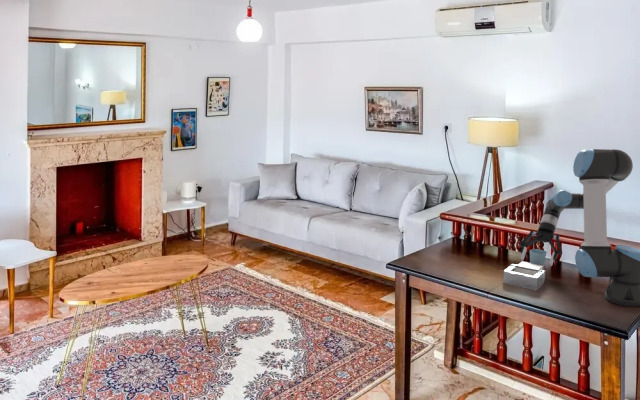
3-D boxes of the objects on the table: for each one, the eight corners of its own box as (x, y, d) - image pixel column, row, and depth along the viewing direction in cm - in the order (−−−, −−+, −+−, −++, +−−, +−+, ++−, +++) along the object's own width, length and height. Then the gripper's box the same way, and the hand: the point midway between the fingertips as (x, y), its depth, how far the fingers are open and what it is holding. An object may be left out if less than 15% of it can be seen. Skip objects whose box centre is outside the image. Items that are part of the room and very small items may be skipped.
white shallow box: (516, 270, 270) (517, 259, 269) (547, 276, 261) (548, 265, 260) (509, 276, 262) (510, 265, 260) (540, 283, 253) (541, 271, 252)
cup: (548, 273, 269) (550, 252, 267) (536, 275, 266) (538, 254, 264) (536, 268, 276) (538, 248, 274) (524, 270, 273) (526, 250, 271)
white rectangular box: (511, 275, 266) (512, 263, 265) (544, 282, 257) (545, 270, 256) (503, 283, 257) (503, 270, 255) (536, 290, 248) (537, 277, 246)
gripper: (575, 233, 273) (564, 271, 264) (524, 225, 287) (511, 260, 279) (573, 225, 267) (562, 263, 259) (521, 217, 282) (508, 253, 274)
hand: (536, 262), depth 269 cm, fingers open, 13 cm apart
